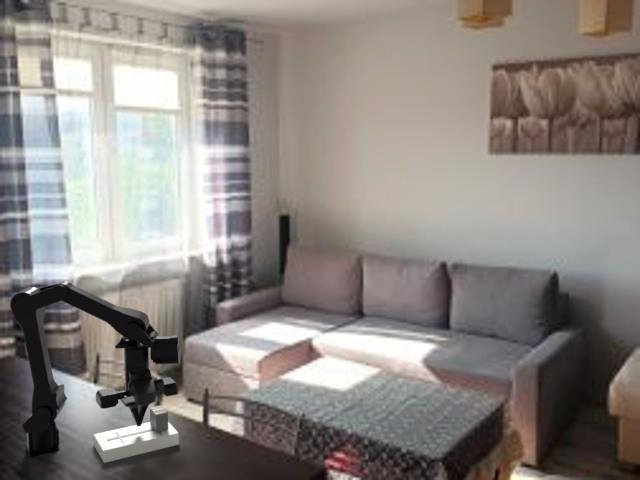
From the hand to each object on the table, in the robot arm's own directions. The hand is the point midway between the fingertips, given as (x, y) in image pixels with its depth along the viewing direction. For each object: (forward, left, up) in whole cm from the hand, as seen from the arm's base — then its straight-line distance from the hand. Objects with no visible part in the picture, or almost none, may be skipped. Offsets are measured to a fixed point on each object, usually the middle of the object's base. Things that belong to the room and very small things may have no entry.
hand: (138, 425), depth 157 cm
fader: (+5, 0, -2) cm, 5 cm away
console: (-1, 0, -5) cm, 5 cm away
